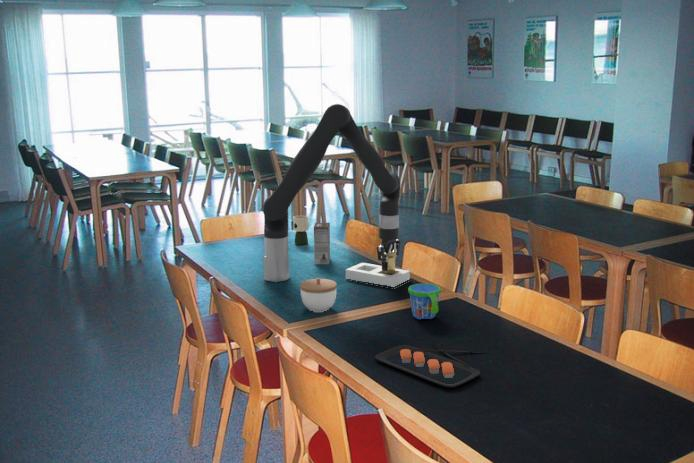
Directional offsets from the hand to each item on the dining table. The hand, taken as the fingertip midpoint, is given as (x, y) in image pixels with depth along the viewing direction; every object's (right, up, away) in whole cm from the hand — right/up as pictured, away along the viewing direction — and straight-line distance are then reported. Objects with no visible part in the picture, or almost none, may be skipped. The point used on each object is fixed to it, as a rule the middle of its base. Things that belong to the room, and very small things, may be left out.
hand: (388, 268), depth 279 cm
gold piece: (0, -2, +1) cm, 2 cm away
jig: (-4, -5, +4) cm, 7 cm away
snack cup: (+10, -14, -37) cm, 41 cm away
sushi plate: (+12, -23, -72) cm, 76 cm away
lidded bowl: (-26, -13, -29) cm, 41 cm away
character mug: (-37, +8, +60) cm, 71 cm away
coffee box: (-27, +1, +31) cm, 41 cm away
